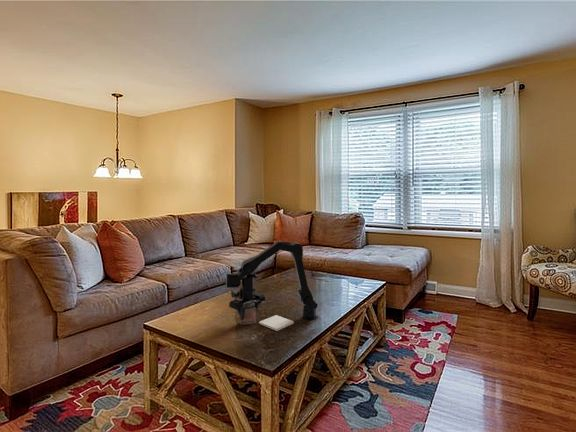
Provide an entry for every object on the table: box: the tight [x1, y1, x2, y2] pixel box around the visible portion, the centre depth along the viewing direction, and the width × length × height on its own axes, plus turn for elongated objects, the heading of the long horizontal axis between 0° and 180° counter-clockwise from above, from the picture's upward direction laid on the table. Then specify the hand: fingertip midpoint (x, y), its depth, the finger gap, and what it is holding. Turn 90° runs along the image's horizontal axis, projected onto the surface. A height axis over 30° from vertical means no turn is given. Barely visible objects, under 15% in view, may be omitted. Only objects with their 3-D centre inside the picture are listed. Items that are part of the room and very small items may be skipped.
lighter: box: [239, 302, 257, 325], centre depth 169 cm, size 8×3×10 cm, turn 105°
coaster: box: [258, 314, 295, 332], centre depth 169 cm, size 12×12×1 cm
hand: (247, 317), depth 169 cm, fingers closed on lighter, 7 cm apart
